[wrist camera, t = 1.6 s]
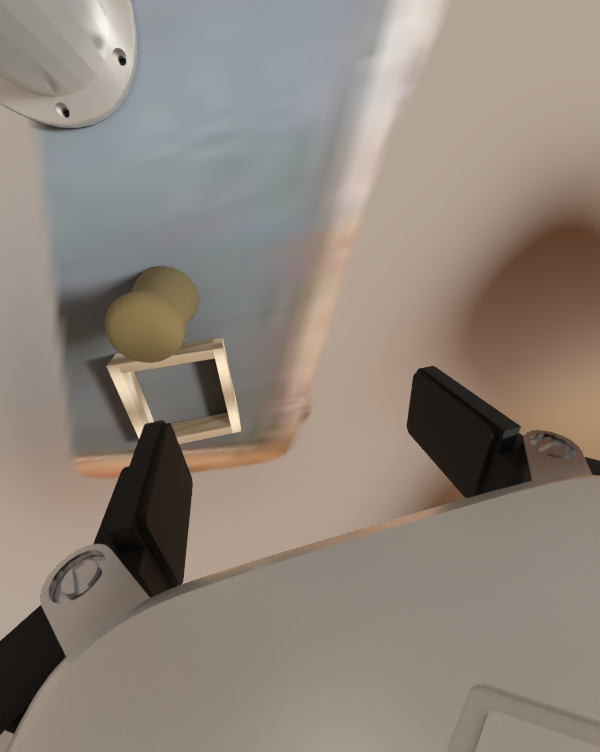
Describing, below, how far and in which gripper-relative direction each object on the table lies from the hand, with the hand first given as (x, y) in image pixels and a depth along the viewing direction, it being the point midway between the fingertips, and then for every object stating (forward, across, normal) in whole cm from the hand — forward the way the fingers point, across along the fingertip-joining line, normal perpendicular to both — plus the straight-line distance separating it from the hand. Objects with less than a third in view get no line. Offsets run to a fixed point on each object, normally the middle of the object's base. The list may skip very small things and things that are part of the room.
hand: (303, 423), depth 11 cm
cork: (+23, +8, 0) cm, 25 cm away
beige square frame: (+23, +9, +10) cm, 27 cm away
